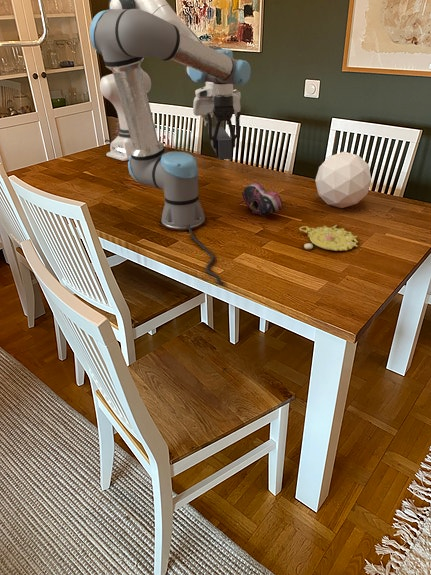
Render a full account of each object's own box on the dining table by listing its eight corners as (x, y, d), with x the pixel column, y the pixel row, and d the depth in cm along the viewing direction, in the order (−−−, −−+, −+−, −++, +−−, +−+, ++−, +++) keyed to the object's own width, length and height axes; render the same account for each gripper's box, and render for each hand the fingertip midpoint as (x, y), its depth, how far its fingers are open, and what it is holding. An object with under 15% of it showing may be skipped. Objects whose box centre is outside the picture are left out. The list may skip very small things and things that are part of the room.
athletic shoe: (254, 181, 170) (227, 189, 167) (283, 176, 151) (253, 185, 147) (260, 210, 173) (234, 218, 170) (290, 209, 154) (261, 219, 150)
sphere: (346, 226, 165) (361, 198, 146) (301, 199, 169) (309, 168, 151) (372, 190, 170) (389, 158, 151) (327, 165, 174) (338, 131, 156)
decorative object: (343, 255, 128) (285, 234, 139) (342, 262, 130) (284, 241, 140) (372, 230, 142) (317, 213, 152) (371, 237, 143) (316, 219, 153)
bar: (231, 158, 180) (231, 139, 175) (219, 159, 179) (218, 140, 175) (222, 144, 200) (221, 126, 195) (210, 144, 199) (210, 126, 195)
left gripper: (239, 88, 188) (239, 121, 196) (191, 90, 186) (193, 125, 193) (242, 90, 183) (242, 125, 190) (193, 93, 181) (195, 128, 188)
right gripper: (244, 92, 173) (244, 152, 186) (198, 94, 171) (201, 154, 184) (248, 95, 167) (247, 157, 180) (200, 98, 165) (203, 160, 177)
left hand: (217, 125), depth 192 cm, fingers open, 8 cm apart
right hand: (224, 155), depth 182 cm, fingers closed on bar, 5 cm apart
